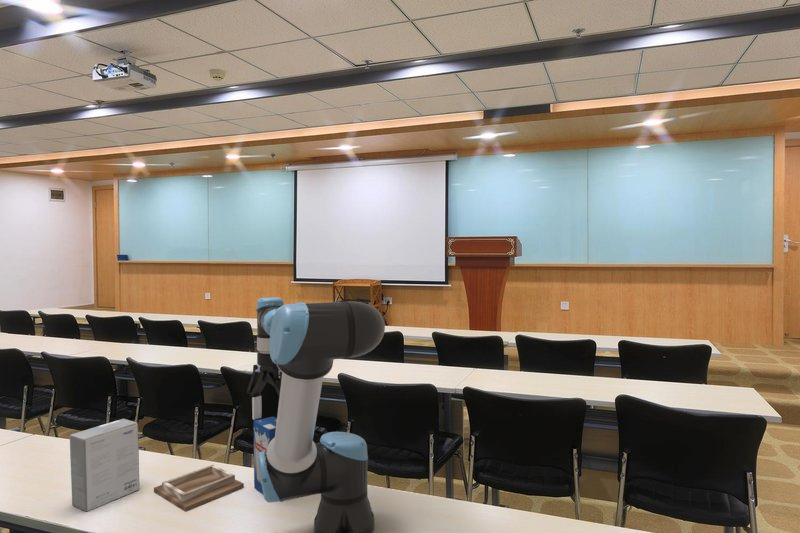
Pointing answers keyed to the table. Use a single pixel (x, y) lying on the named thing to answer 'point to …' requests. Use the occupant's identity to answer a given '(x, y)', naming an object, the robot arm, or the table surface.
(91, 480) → the hard drive box
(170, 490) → the walnut board
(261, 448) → the milk carton
